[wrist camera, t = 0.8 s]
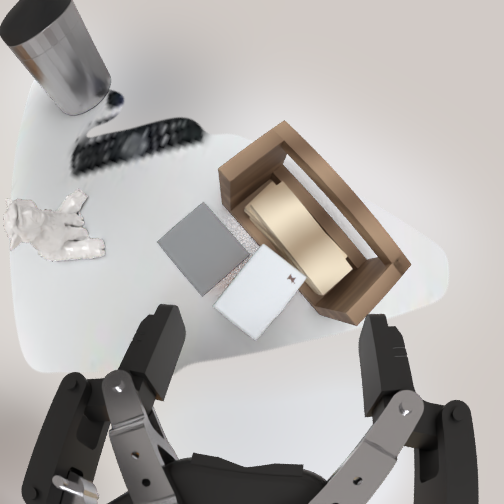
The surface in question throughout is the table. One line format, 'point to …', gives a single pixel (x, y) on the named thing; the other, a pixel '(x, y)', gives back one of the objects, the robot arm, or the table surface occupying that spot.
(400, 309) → the table surface
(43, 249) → the sitting furry creature
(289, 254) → the offcut stack
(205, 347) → the table surface
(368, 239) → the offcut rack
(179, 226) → the grey mat
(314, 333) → the table surface
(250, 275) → the skincare box
